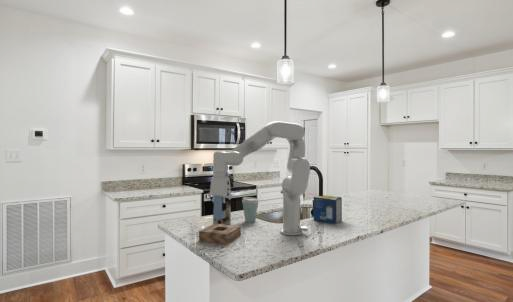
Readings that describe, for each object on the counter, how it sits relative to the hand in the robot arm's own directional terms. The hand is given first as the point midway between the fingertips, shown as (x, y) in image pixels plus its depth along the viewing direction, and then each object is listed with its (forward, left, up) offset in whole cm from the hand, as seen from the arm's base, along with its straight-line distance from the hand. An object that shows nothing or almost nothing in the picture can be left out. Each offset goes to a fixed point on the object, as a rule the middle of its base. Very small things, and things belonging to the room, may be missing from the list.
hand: (219, 209), depth 153 cm
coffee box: (+12, -24, -15) cm, 31 cm away
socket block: (0, 0, -15) cm, 15 cm away
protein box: (-47, -59, -15) cm, 77 cm away
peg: (0, 0, -4) cm, 4 cm away
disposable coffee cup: (-1, -38, -15) cm, 41 cm away
